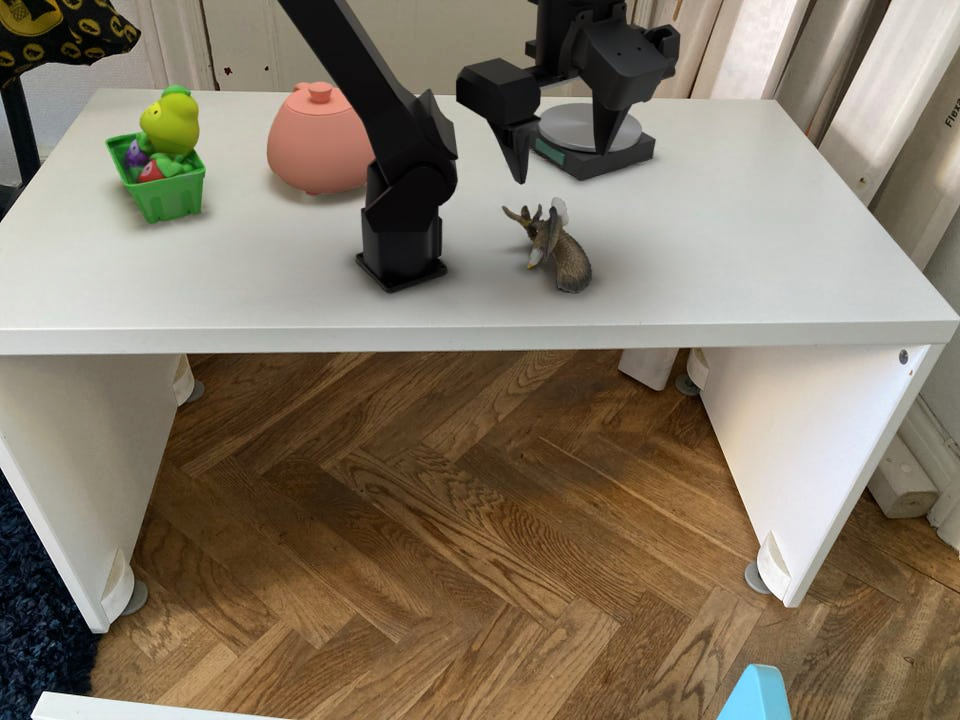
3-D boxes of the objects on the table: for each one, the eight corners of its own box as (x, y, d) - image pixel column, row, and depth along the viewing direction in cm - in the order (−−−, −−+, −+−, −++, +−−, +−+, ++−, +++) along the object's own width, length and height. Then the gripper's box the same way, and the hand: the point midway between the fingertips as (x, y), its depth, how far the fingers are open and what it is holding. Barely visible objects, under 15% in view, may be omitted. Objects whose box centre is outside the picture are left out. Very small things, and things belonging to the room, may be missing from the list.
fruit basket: (114, 183, 86) (85, 77, 79) (199, 166, 90) (178, 64, 83) (138, 234, 79) (108, 123, 72) (229, 214, 83) (209, 106, 75)
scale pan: (582, 161, 89) (583, 156, 88) (517, 120, 96) (517, 115, 96) (662, 137, 94) (663, 132, 94) (595, 100, 102) (595, 95, 101)
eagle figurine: (482, 244, 78) (530, 278, 71) (516, 175, 76) (568, 203, 69) (540, 269, 83) (590, 303, 76) (573, 204, 81) (628, 233, 74)
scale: (578, 181, 91) (580, 161, 89) (519, 143, 98) (520, 123, 96) (652, 158, 96) (656, 139, 94) (591, 123, 103) (594, 104, 101)
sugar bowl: (291, 215, 83) (279, 119, 76) (251, 157, 92) (237, 66, 86) (402, 190, 88) (400, 98, 81) (353, 137, 97) (348, 50, 90)
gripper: (548, 32, 52) (534, 242, 62) (744, -16, 61) (704, 175, 71) (450, -13, 59) (452, 183, 69) (639, -50, 67) (616, 129, 78)
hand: (561, 168), depth 71 cm, fingers open, 9 cm apart
